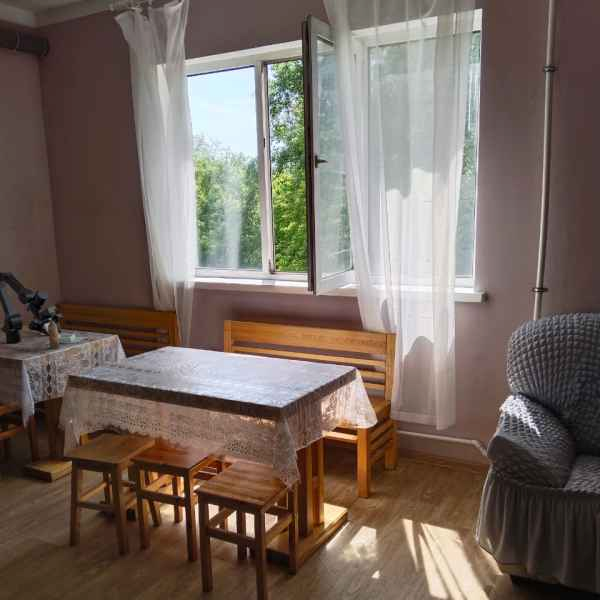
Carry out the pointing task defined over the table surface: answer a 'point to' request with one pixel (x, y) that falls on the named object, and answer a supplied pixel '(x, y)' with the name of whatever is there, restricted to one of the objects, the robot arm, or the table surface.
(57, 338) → the pepper mill
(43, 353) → the table surface
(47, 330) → the jar
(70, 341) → the well board
